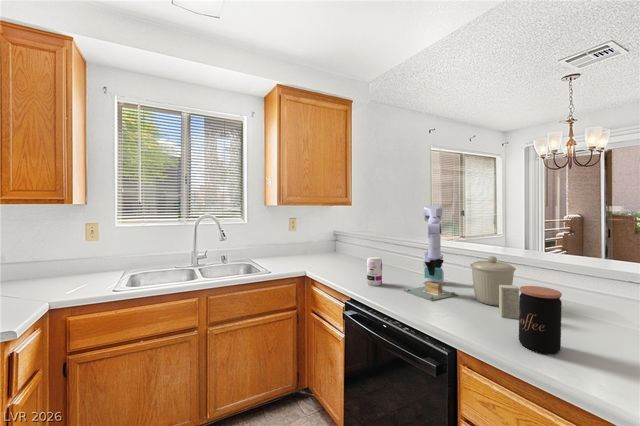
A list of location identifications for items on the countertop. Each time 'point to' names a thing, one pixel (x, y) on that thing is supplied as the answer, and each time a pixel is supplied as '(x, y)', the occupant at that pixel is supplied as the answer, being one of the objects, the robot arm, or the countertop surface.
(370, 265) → the supplement can
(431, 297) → the baseplate
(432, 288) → the honey-wood brick
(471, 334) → the countertop surface
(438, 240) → the robot arm
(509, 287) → the skincare box
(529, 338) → the coffee jar
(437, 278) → the teal brick
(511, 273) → the canister
